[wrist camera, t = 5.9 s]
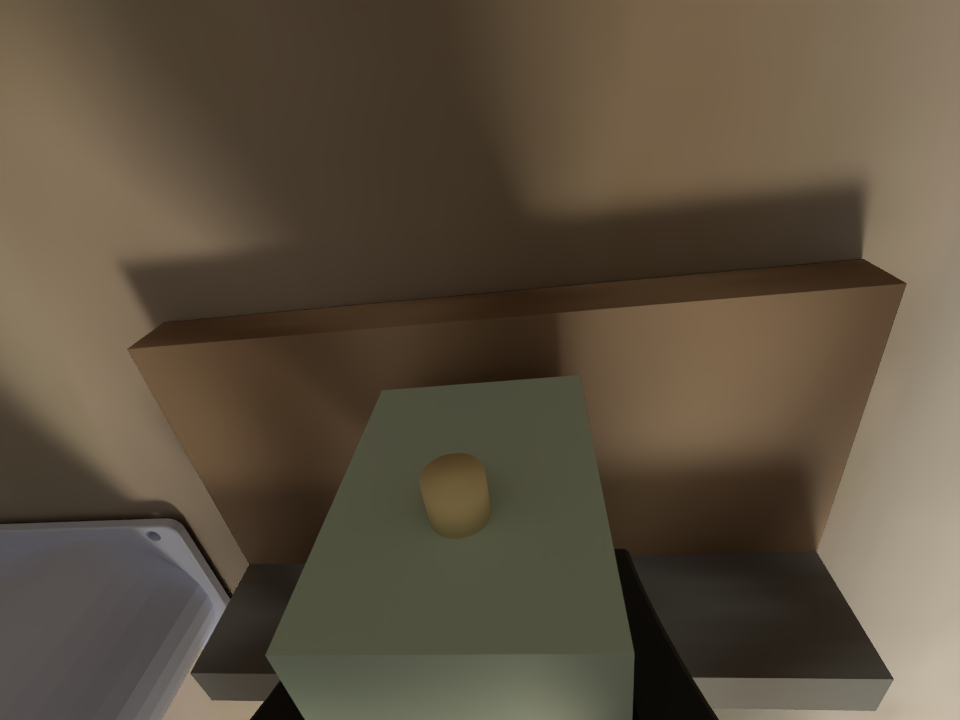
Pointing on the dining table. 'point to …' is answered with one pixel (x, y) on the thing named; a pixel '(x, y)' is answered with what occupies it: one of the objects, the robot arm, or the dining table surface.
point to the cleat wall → (616, 439)
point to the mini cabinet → (464, 567)
